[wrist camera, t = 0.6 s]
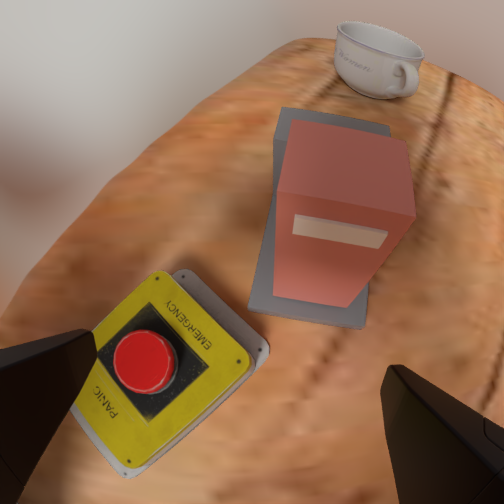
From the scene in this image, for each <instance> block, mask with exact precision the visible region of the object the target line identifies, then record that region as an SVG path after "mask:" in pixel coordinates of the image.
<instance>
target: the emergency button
mask: <svg viewBox="0 0 504 504" xmlns="http://www.w3.org/2000/svg"><path fill="white" fill-rule="evenodd" d="M91 332H93V334H94V338H95V343H96V348H97V354H98V355H97V360H96V362H95V364H94V366H93V368H92V370H91V372H90V374H89V376H88V378H87V380H86V382H85V384H84V386H83V388H82V390H81V391H80V393H79V395H78V397H77V398H76V400H75V402H74V403H73V405H72V406H71V408H70V411H71V413H72V414H73V416H74V417H75V419H76V420H77V422H78V423H79V425H80V426H81V427H82V429H83V430H84V432H85V433H86V434H87V436H88V437H89V438H90V440H91V441H92V442H93V444H94V445H95V446H96V448H97V449H98V450H99V451H100V453H101V454H102V455H103V456H104V458H105V459H106V460H107V461H108V463H109V464H110V465H111V466H112V467H113V469H114V470H115V471H116V472H117V473H118V474H119V475H120V476H122V477H123V478H127V479H131V478H134V477H137V476H138V475H139V474H141V473H142V472H143V471H144V470H146V469H147V468H148V467H150V466H151V465H152V464H153V463H155V462H156V461H157V460H158V459H159V458H161V457H162V456H163V455H164V454H166V453H167V452H168V451H169V450H170V449H171V448H173V447H174V446H175V445H176V444H177V443H179V442H180V441H181V440H182V439H183V438H184V437H186V436H187V435H188V434H189V433H190V432H191V431H192V430H194V429H195V428H196V427H197V426H198V425H199V424H200V423H201V422H203V421H204V420H205V419H206V418H207V417H208V416H209V415H210V414H211V413H212V412H214V411H215V410H216V409H217V408H218V407H219V406H220V405H221V404H222V403H223V402H224V401H225V400H226V399H227V398H229V397H230V396H231V395H232V394H233V393H234V392H235V391H236V390H237V389H238V388H239V387H240V386H241V385H242V384H243V383H244V382H245V381H246V380H247V379H248V378H249V377H250V376H251V375H252V374H253V373H254V372H255V371H256V370H257V369H258V368H259V367H260V366H261V365H262V364H263V363H264V362H265V361H266V359H267V357H268V356H269V345H268V344H267V342H266V340H265V339H264V338H262V337H261V336H260V335H259V334H258V333H257V332H256V331H255V330H254V329H253V328H252V327H250V326H249V325H248V324H247V323H246V322H245V321H244V320H243V319H242V318H241V317H240V316H239V315H238V314H236V313H235V312H234V311H233V310H232V309H231V308H230V307H229V306H228V305H227V304H226V303H225V302H224V301H223V300H222V299H221V298H220V297H219V296H218V295H217V294H215V293H214V292H213V291H212V290H211V289H210V288H209V287H208V286H207V285H206V284H205V283H204V282H203V281H202V280H201V279H200V278H199V277H198V276H197V275H196V274H195V273H194V272H193V271H191V270H189V269H180V270H179V271H177V272H175V273H174V274H173V275H172V276H171V275H170V274H168V273H167V272H165V271H156V272H154V273H152V274H151V275H150V276H149V277H148V278H147V279H145V280H144V281H143V282H142V283H141V284H140V285H139V286H138V287H137V288H136V289H135V290H134V291H133V292H132V293H131V294H129V295H128V296H127V297H126V298H125V299H124V300H123V301H122V302H121V303H120V304H119V305H118V306H117V307H116V308H115V309H114V310H113V311H112V312H111V313H110V314H109V315H108V316H106V317H105V318H104V319H103V320H102V321H101V322H100V323H99V324H98V325H97V326H96V327H95V328H94V329H93V330H92V331H91Z"/></svg>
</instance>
